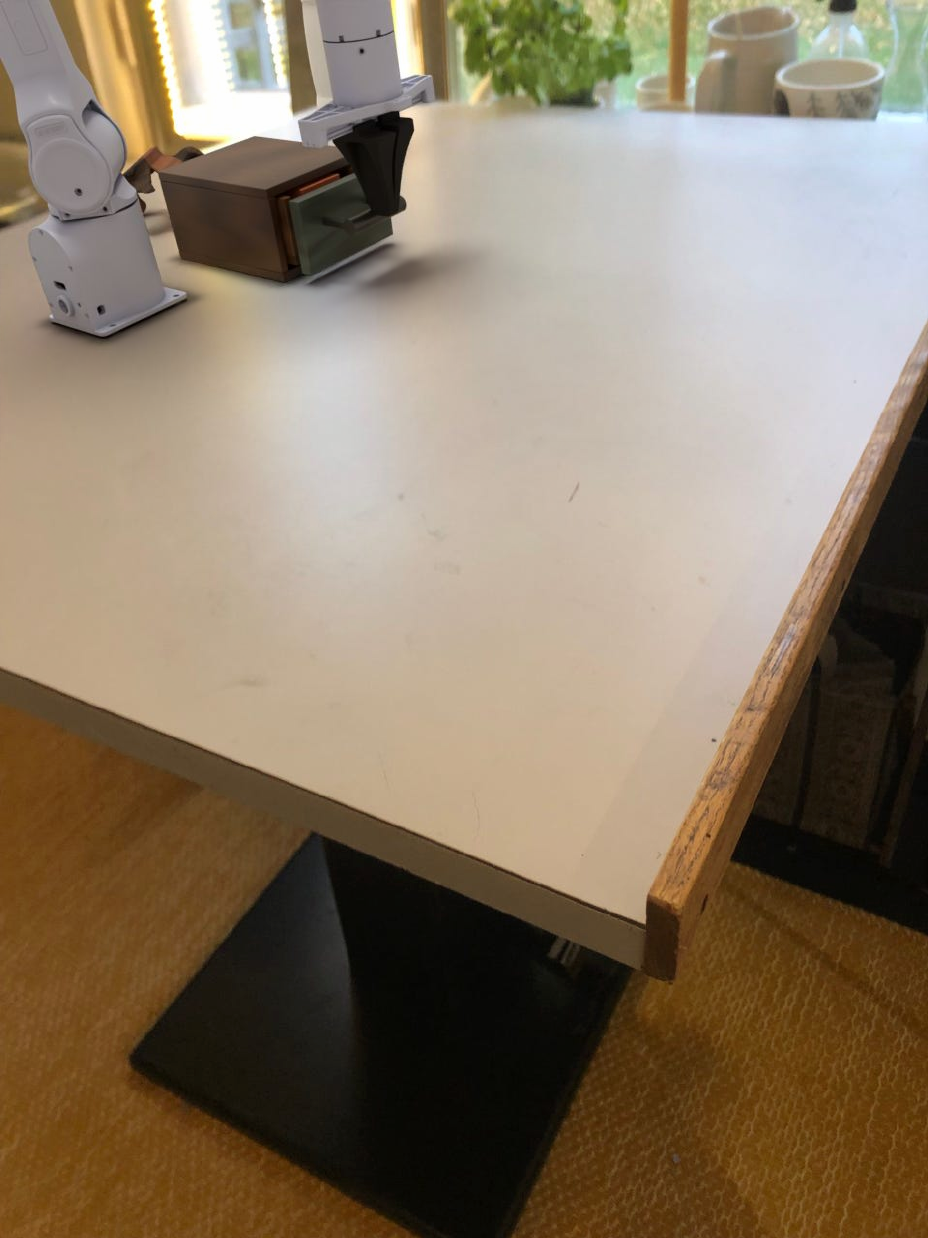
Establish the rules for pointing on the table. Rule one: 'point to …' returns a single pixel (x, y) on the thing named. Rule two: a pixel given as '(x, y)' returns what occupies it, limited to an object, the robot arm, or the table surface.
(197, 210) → the cabinet
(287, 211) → the drawer
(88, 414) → the table surface
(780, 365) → the table surface
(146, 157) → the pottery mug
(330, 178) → the block
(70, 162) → the robot arm
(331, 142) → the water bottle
